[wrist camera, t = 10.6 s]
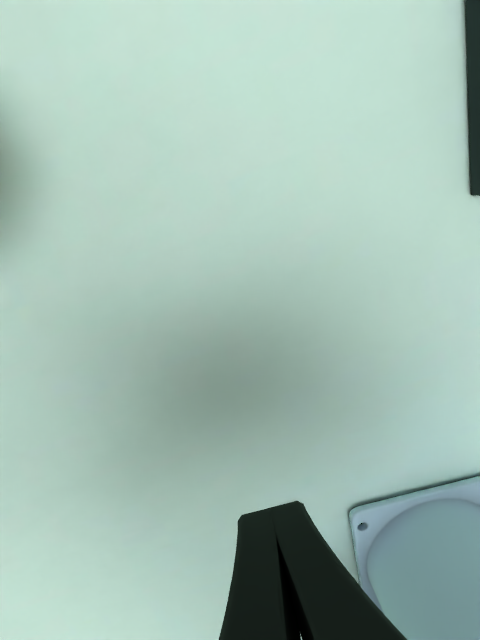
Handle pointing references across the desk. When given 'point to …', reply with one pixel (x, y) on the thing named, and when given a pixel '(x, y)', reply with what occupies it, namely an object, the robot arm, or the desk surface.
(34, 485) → the desk surface
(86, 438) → the desk surface
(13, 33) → the desk surface
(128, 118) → the desk surface
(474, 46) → the bracket
